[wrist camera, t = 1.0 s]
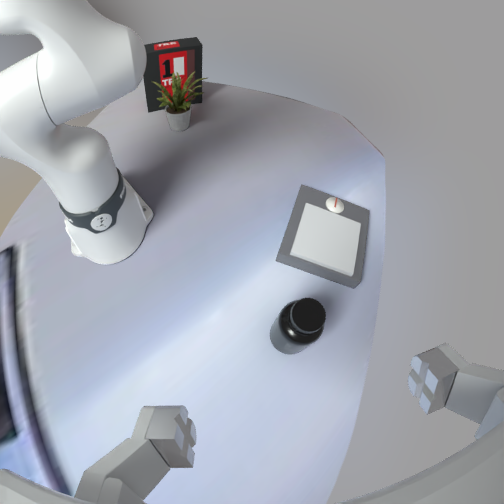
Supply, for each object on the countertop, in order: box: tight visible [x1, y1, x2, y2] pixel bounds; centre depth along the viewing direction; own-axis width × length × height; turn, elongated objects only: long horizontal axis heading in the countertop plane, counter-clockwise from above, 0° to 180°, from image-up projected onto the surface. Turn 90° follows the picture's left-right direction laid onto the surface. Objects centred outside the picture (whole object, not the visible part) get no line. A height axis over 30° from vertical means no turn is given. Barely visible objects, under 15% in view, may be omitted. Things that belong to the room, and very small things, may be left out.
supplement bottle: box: [270, 298, 326, 354], centre depth 41 cm, size 7×7×12 cm
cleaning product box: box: [143, 37, 202, 112], centre depth 68 cm, size 16×9×20 cm, turn 109°
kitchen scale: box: [276, 184, 369, 289], centre depth 55 cm, size 16×18×4 cm
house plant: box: [151, 71, 206, 131], centre depth 62 cm, size 14×14×16 cm
